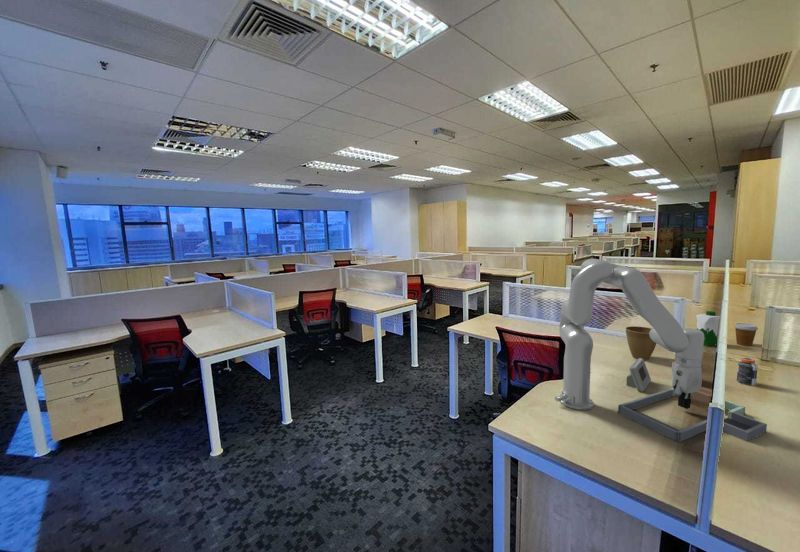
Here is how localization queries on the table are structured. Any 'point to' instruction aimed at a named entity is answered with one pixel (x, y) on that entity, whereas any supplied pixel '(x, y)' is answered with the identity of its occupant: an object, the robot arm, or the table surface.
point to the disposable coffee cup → (745, 333)
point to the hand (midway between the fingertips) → (683, 406)
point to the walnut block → (701, 398)
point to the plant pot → (640, 342)
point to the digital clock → (638, 375)
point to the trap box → (732, 425)
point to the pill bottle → (747, 371)
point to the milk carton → (708, 327)
